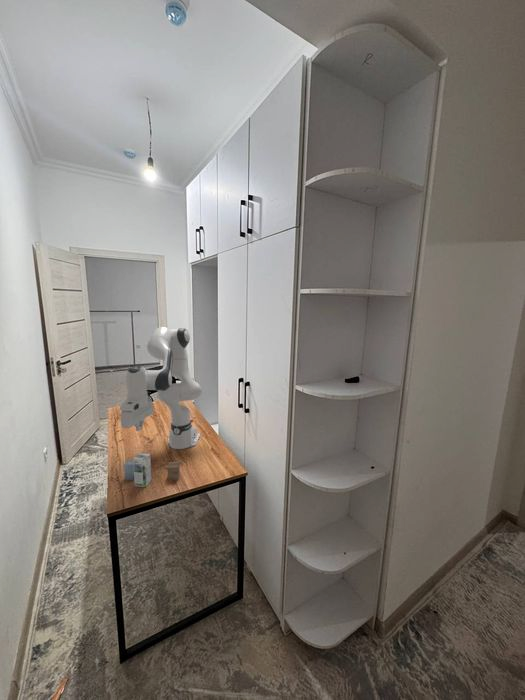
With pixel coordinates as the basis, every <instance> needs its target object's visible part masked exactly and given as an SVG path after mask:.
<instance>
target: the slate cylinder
mask: <svg viewBox="0 0 525 700" xmlns="http://www.w3.org/2000/svg"><path fill="white" fill-rule="evenodd" d="M123 470H124V471H123V473H124V480H125V481H126V482H130V481H131V482H132V481H134V464H133V459H131V460H127V461H125V462H124V463H123Z"/></svg>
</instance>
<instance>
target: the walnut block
mask: <svg viewBox="0 0 525 700" xmlns="http://www.w3.org/2000/svg"><path fill="white" fill-rule="evenodd" d="M166 468H167V482H169V481H179V478H180V461H170V462H168V465H167V467H166Z"/></svg>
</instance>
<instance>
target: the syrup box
mask: <svg viewBox="0 0 525 700" xmlns="http://www.w3.org/2000/svg"><path fill="white" fill-rule="evenodd" d="M132 460H133V464H134V479H133V481H134V487H140V488H146V487H147V486H148V485H149V484H150V483H151V482H152V467H151V466H152V465H151V454H150V453H144V452H143V453H141V452H139V453H138V454H136V455H135V456H134V457H133V458H132Z"/></svg>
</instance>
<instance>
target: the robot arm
mask: <svg viewBox="0 0 525 700" xmlns="http://www.w3.org/2000/svg"><path fill="white" fill-rule="evenodd" d="M190 338H191V337H190V333H189V331H188V330H187V329H186V328H183V327H180V328H179V327H178V328H172V329H169V328H168V327H166V326H160V327H159V326H158V327H157V328H156V329H155V330H154V331H153V332H152V334H151V336H150V338H149V340H148V342H147V346H146V348H147V349H146V350H147V351H148V353H149V355H150V356H151V357H153V358H155V359H157V360H161V361H162V363H163V364H162V365H163V366H162V368H161V369H156V370H155V369H146V368H145V367H144V366H143V365H134V366H131V367H129V368H127V371H126V378H125V380H126V382H125V385H126V390H127V394H126V399H125V400H124V402H123V403H121V405H120V406H119V411H121V412H120V426H121V428H123V429H130V428H132V427H135V431H136V432H139V431H141V430H142V429H144V427H143V426H144V423H145V419H146V418H148V417H150V416H152V415H153V414H154V412H155V409H154V401H153V400H152V397H151V396H149V394H148V391H156V393H157V398H158V400H159V401H160V402H161V403H163V404H165V405H166V406H167V407H168V409H169V411H170V417H171V423H170V430H169V435H168V440H167V444H168V445H169V447H170V448H171V449H174V450H185V449H189V448H190V447H196V446H197V444H198V442H199V440H200V438H201V433H199V432H198V431H197V427H196V426H194V425H192V423H193V422H194V419H193V418H191V410H190V408H189V407H187V406H186V405H184V404H181V403H180V402H188V401H189V402H190V401H194V400H197V399H198V400H199V398H200V397H201V395H202V394H203V389H202V386H201V385H200V383H198V382H196V380H194V379H193V377H192V375H191V373H190V369H189V357H188V351H187V347H188V344H190V343H189V342H190V340H191V339H190ZM173 378H175V379H178V380H179V381H180V382H177V383H173ZM199 437H200V438H199ZM198 439H199V440H198Z"/></svg>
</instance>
